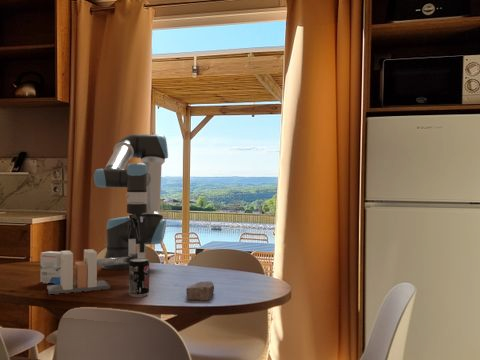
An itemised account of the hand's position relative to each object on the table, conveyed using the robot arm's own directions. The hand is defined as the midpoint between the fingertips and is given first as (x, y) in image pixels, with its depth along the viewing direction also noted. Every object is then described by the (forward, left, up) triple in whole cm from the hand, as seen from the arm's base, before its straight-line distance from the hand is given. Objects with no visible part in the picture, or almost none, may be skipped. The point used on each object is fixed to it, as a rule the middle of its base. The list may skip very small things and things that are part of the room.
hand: (136, 258), depth 163 cm
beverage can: (+4, +19, -10) cm, 22 cm away
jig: (+21, 0, -9) cm, 23 cm away
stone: (-14, +31, -10) cm, 35 cm away
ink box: (+28, -16, -10) cm, 34 cm away
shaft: (+8, 0, -2) cm, 8 cm away
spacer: (+20, 0, -8) cm, 22 cm away
